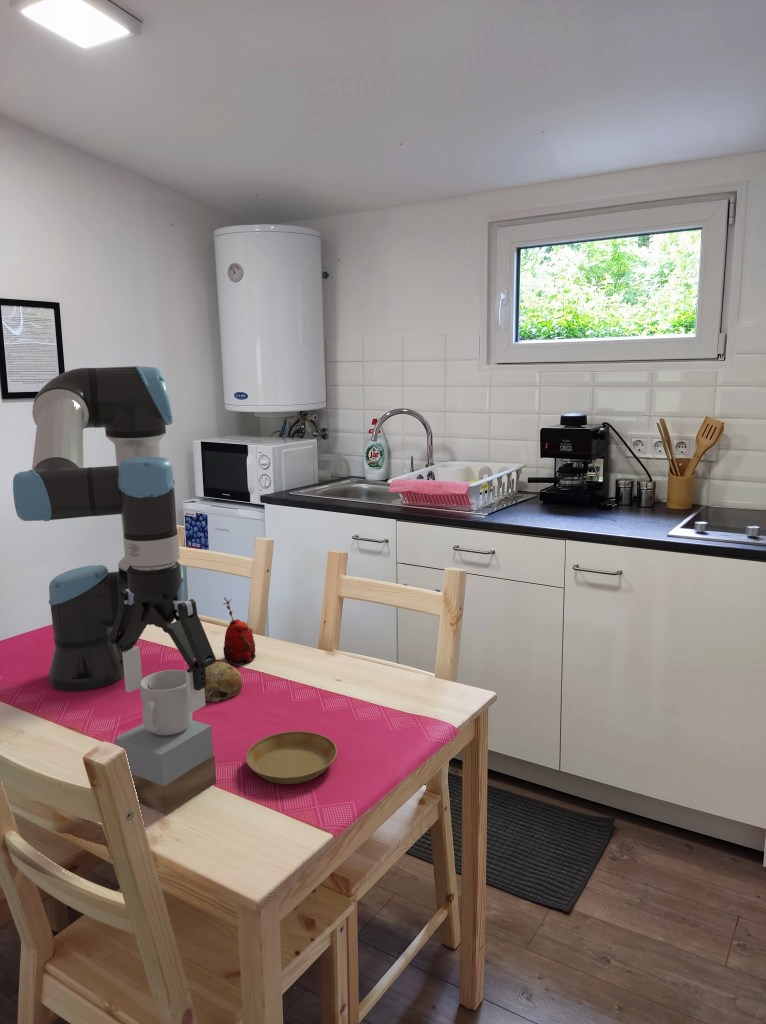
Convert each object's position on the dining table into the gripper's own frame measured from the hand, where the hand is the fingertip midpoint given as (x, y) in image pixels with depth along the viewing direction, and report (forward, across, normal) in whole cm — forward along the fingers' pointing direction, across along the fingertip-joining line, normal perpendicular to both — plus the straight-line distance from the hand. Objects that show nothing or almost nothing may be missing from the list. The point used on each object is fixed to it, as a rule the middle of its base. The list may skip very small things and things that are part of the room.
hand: (164, 698), depth 113 cm
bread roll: (+15, -19, +29) cm, 38 cm away
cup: (+5, 0, -1) cm, 5 cm away
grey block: (+10, 0, -1) cm, 10 cm away
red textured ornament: (+15, -26, +44) cm, 53 cm away
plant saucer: (+15, +13, +14) cm, 24 cm away
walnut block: (+15, 0, -1) cm, 15 cm away
